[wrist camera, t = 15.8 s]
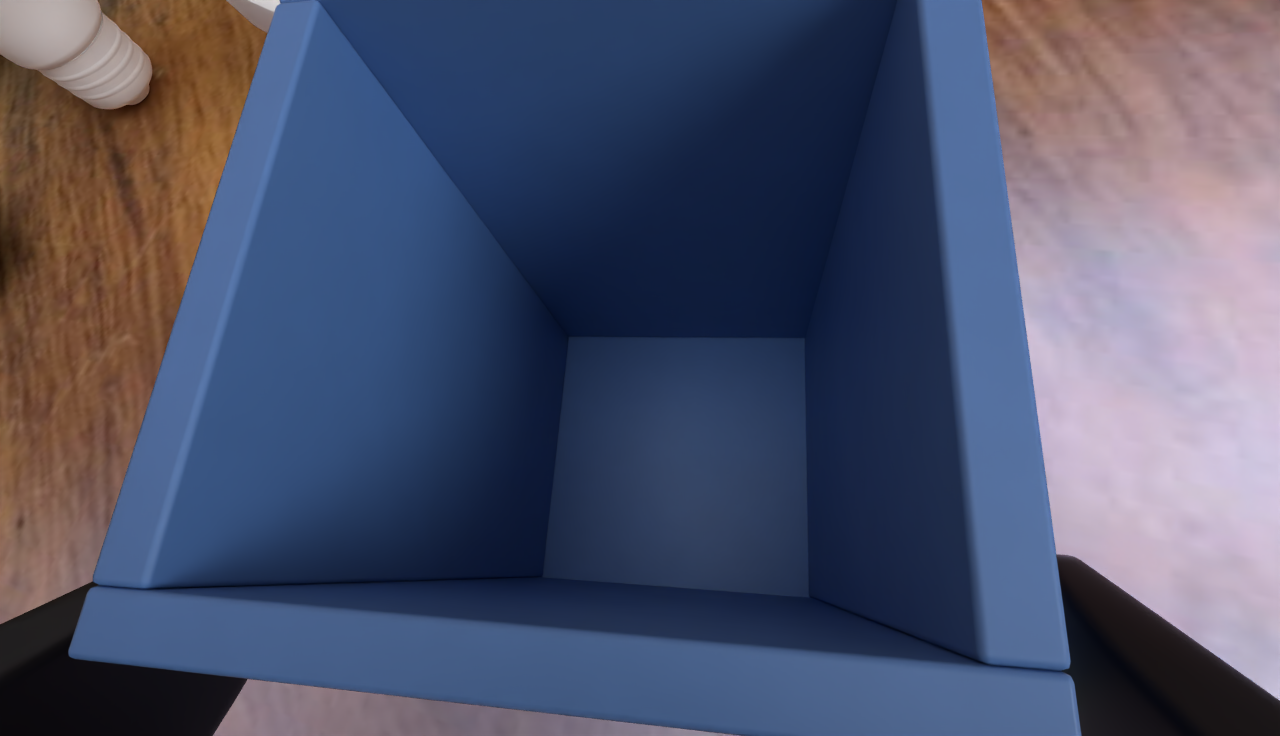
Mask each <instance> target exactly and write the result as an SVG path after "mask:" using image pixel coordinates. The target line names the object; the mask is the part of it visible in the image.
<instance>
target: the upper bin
mask: <svg viewBox="0 0 1280 736" xmlns="http://www.w3.org/2000/svg"><path fill="white" fill-rule="evenodd" d="M279 1H280V4H279V5H277V6H276V8H275V11H274V15H273V18H272V21H271V24H270V27H269V30H268V33H267V36H266V39H265V43H264V46H263V49H262V52H261V55H260V58H259V61H258V64H257V67H256V71H255V74H254V77H253V80H252V83H251V86H250V89H249V92H248V95H247V99H246V102H245V105H244V108H243V111H242V114H241V117H240V120H239V123H238V126H237V130H236V133H235V136H234V139H233V142H232V145H231V148H230V151H229V154H228V158H227V161H226V164H225V167H224V170H223V173H222V176H221V179H220V182H219V186H218V189H217V192H216V195H215V198H214V201H213V204H212V207H211V210H210V214H209V217H208V220H207V223H206V226H205V229H204V232H203V235H202V238H201V242H200V245H199V248H198V251H197V254H196V257H195V260H194V263H193V266H192V270H191V273H190V276H189V279H188V282H187V285H186V288H185V291H184V294H183V297H182V301H181V304H180V307H179V310H178V313H177V316H176V319H175V322H174V325H173V329H172V332H171V335H170V338H169V341H168V344H167V347H166V350H165V353H164V357H163V360H162V363H161V366H160V369H159V372H158V375H157V378H156V381H155V385H154V388H153V391H152V394H151V397H150V400H149V403H148V406H147V409H146V413H145V416H144V419H143V422H142V425H141V428H140V431H139V434H138V437H137V441H136V444H135V447H134V450H133V453H132V456H131V459H130V462H129V465H128V468H127V472H126V475H125V478H124V481H123V484H122V487H121V490H120V493H119V496H118V500H117V503H116V506H115V509H114V512H113V515H112V518H111V521H110V524H109V528H108V531H107V534H106V537H105V540H104V543H103V546H102V549H101V552H100V556H99V559H98V562H97V565H96V568H95V571H94V574H93V582H95V583H96V584H98V585H99V586H96V587H93V588H90V590H89V591H88V592H87V595H86V598H85V601H84V604H83V607H82V610H81V613H80V617H79V620H78V623H77V626H76V629H75V632H74V635H73V638H72V641H71V645H70V648H69V651H68V653H69V656H70V657H71V658H74V659H79V660H88V661H97V662H105V663H114V664H123V665H132V666H140V667H149V668H158V669H166V670H175V671H184V672H193V673H201V674H210V675H219V676H227V677H236V678H245V679H253V680H262V681H271V682H280V683H288V684H297V685H306V686H314V687H323V688H332V689H341V690H349V691H358V692H367V693H375V694H384V695H393V696H402V697H410V698H419V699H428V700H436V701H445V702H454V703H463V704H471V705H480V706H489V707H497V708H506V709H515V710H524V711H532V712H541V713H550V714H558V715H567V716H576V717H584V718H593V719H602V720H611V721H619V722H628V723H637V724H645V725H654V726H663V727H672V728H680V729H689V730H698V731H706V732H715V733H724V734H733V735H741V736H1081V729H1080V721H1079V714H1078V706H1077V699H1076V692H1075V684H1074V682H1073V680H1072V677H1071V676H1070V675H1068V674H1066V673H1064V672H1062V670H1065V669H1068V668H1069V666H1070V661H1071V660H1070V653H1069V645H1068V638H1067V631H1066V623H1065V616H1064V608H1063V601H1062V594H1061V586H1060V579H1059V571H1058V564H1057V557H1056V549H1055V542H1054V534H1053V527H1052V519H1051V512H1050V505H1049V497H1048V490H1047V482H1046V475H1045V468H1044V460H1043V453H1042V445H1041V438H1040V431H1039V423H1038V416H1037V408H1036V401H1035V393H1034V386H1033V379H1032V371H1031V364H1030V356H1029V349H1028V342H1027V334H1026V327H1025V319H1024V312H1023V305H1022V297H1021V290H1020V282H1019V275H1018V267H1017V260H1016V253H1015V245H1014V238H1013V230H1012V223H1011V216H1010V208H1009V201H1008V193H1007V186H1006V179H1005V171H1004V164H1003V156H1002V149H1001V141H1000V134H999V127H998V119H997V112H996V104H995V97H994V90H993V82H992V75H991V67H990V60H989V53H988V45H987V38H986V30H985V23H984V16H983V8H982V1H981V0H279Z"/></svg>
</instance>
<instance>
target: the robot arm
mask: <svg viewBox="0 0 1280 736" xmlns="http://www.w3.org/2000/svg"><path fill="white" fill-rule="evenodd" d="M1056 557H1057V564H1058V571H1059V579H1060V586H1061V594H1062V601H1063V608H1064V616H1065V623H1066V631H1067V638H1068V645H1069V653H1070V660H1071V661H1070V666H1069V668H1068V669H1065V670H1062V672H1064V673H1066V674H1068V675H1070V676H1071V677H1072V680H1073V682H1074V684H1075V692H1076V699H1077V706H1078V714H1079V721H1080V729H1081V736H1280V701H1279V700H1278V699H1277V698H1275V697H1274V696H1272V695H1271V694H1269V693H1268V692H1267V691H1265V690H1264V689H1262V688H1261V687H1260V686H1258V685H1257V684H1255V683H1254V682H1252V681H1251V680H1250V679H1248V678H1247V677H1245V676H1244V675H1243V674H1241V673H1240V672H1238V671H1237V670H1235V669H1234V668H1233V667H1231V666H1230V665H1228V664H1227V663H1226V662H1224V661H1223V660H1221V659H1220V658H1218V657H1217V656H1216V655H1214V654H1213V653H1211V652H1210V651H1209V650H1207V649H1206V648H1204V647H1203V646H1201V645H1200V644H1199V643H1197V642H1196V641H1194V640H1193V639H1192V638H1190V637H1189V636H1187V635H1186V634H1184V633H1183V632H1182V631H1180V630H1179V629H1177V628H1176V627H1175V626H1173V625H1172V624H1170V623H1169V622H1167V621H1166V620H1165V619H1163V618H1162V617H1160V616H1159V615H1158V614H1156V613H1155V612H1153V611H1152V610H1150V609H1149V608H1148V607H1146V606H1145V605H1143V604H1142V603H1140V602H1139V601H1138V600H1136V599H1135V598H1133V597H1132V596H1131V595H1129V594H1128V593H1126V592H1125V591H1123V590H1122V589H1121V588H1119V587H1118V586H1116V585H1115V584H1114V583H1112V582H1111V581H1109V580H1108V579H1106V578H1105V577H1104V576H1102V575H1101V574H1099V573H1098V572H1097V571H1095V570H1094V569H1092V568H1091V567H1089V566H1088V565H1087V564H1085V563H1084V562H1082V561H1081V560H1079V559H1077V558H1075V557H1073V556H1068V555H1056ZM96 586H99V585H98V584H96V583H95V582H91V583H88V584H86V585H84V586H82V587H80V588H78V589H76V590H73V591H71V592H69V593H67V594H65V595H63V596H61V597H58V598H56V599H54V600H52V601H50V602H48V603H45V604H43V605H41V606H39V607H37V608H35V609H33V610H30V611H28V612H26V613H24V614H22V615H20V616H18V617H15V618H13V619H11V620H9V621H7V622H5V623H3V624H0V736H213V734H214V733H215V731H216V729H217V728H218V726H219V725H220V723H221V722H222V720H223V718H224V717H225V715H226V714H227V712H228V711H229V709H230V707H231V706H232V704H233V703H234V701H235V699H236V698H237V696H238V694H239V693H240V691H241V689H242V688H243V686H244V684H245V683H246V681H247V679H245V678H236V677H227V676H219V675H210V674H201V673H193V672H184V671H175V670H166V669H158V668H149V667H140V666H132V665H123V664H114V663H105V662H97V661H88V660H79V659H74V658H71V657H70V656H69V653H68V651H69V648H70V645H71V641H72V638H73V635H74V632H75V629H76V626H77V623H78V620H79V617H80V613H81V610H82V607H83V604H84V601H85V598H86V595H87V592H88V591H89V590H90V588H93V587H96Z"/></svg>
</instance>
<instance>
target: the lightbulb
mask: <svg viewBox="0 0 1280 736" xmlns="http://www.w3.org/2000/svg"><path fill="white" fill-rule="evenodd" d="M0 55H2V56H4V57H5V58H7V59H8V60H10V61H11V62H13V63H15V64H17V65H19V66H21V67H24V68H27V69H36V70H38V71H39V72H41V73H42V74H43V75H44V76H46V77H47V78H49V79H51V80H53V81H55V82H56V83H57V84H58V85H59V86H61V87H63V88H65V89H67V90H69V91H70V92H71V93H72V94H73V95H75V96H77V97H79V98H81V99H82V100H84V101H85V102H87V103H88V104H90V105H92V106H93V107H95V108H100V109H117V108H120V107H123V106H125V105H135V104H137V103H139V102H141V101H142V100H144V99H145V98H146V96H147V95H148V93H149V82H150V80H151V77H152V65H151V61H150V58H149V57H148V55H147V54H146V53H145V52H144V51H143V50H142V49H141V48H140V47H139V46H138V45H137V44H136V43H134V42H133V41H132V40H131V38H130V37H129V36H128V35H127V34H126V33H124V32H123V31H121V30H120V28H119V27H118V26H117V25H116V24H115V23H114V22H113V21H111V20H110V19H109V18H108V17H107V16H106V15H105V14H104V13H103V12H102V11H101V9H100V4H99V2H98V1H97V0H0Z"/></svg>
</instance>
